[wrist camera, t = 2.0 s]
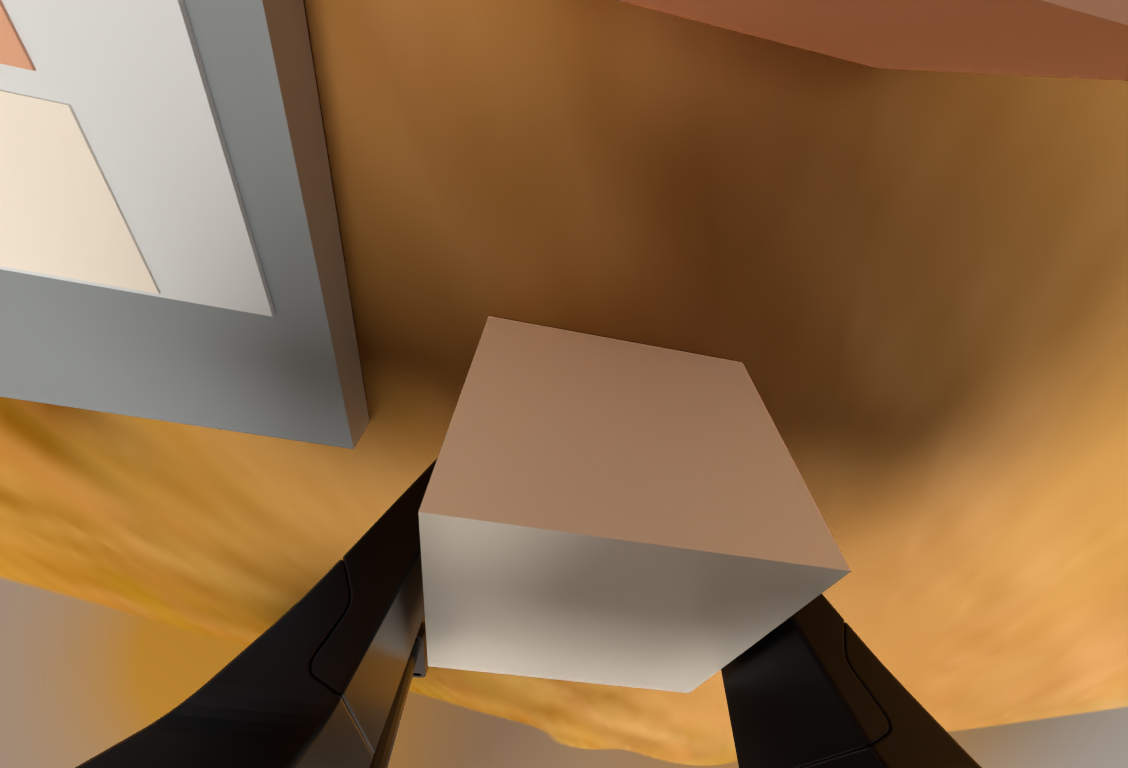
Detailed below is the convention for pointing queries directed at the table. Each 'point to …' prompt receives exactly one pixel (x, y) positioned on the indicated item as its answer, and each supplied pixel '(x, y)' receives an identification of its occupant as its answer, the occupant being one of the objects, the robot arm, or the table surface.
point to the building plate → (172, 218)
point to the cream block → (612, 515)
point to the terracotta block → (936, 32)
